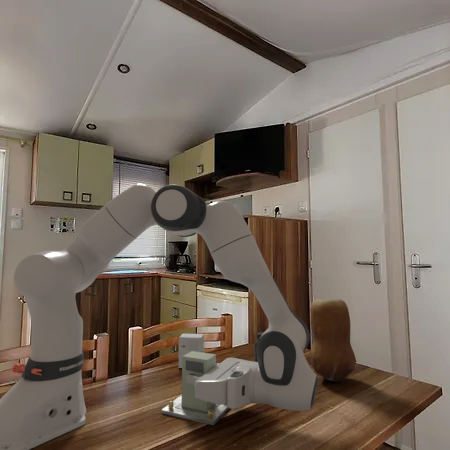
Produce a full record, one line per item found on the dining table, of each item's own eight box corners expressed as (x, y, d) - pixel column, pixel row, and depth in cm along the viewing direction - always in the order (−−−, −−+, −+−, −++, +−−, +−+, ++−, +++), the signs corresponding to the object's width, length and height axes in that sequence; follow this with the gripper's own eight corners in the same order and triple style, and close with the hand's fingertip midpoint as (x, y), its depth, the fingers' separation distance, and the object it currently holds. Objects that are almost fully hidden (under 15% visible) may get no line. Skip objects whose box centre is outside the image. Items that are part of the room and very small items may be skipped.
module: (206, 411, 80) (207, 360, 81) (181, 406, 82) (182, 356, 83) (215, 403, 84) (216, 354, 85) (191, 398, 87) (192, 351, 88)
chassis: (213, 425, 75) (213, 414, 75) (161, 413, 81) (161, 403, 81) (233, 403, 86) (233, 394, 86) (186, 394, 92) (186, 385, 92)
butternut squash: (322, 369, 113) (320, 294, 115) (362, 379, 104) (360, 298, 106) (302, 380, 102) (301, 298, 104) (345, 393, 93) (343, 302, 96)
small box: (204, 364, 117) (204, 333, 118) (201, 369, 111) (201, 337, 112) (181, 363, 118) (182, 333, 119) (178, 368, 112) (178, 336, 113)
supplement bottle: (269, 365, 116) (268, 330, 117) (278, 372, 109) (278, 335, 111) (250, 367, 114) (250, 331, 115) (259, 374, 107) (259, 336, 108)
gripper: (260, 355, 89) (213, 349, 94) (231, 381, 70) (175, 372, 75) (260, 379, 88) (213, 372, 94) (231, 412, 69) (174, 401, 75)
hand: (195, 372), depth 84 cm, fingers open, 7 cm apart
